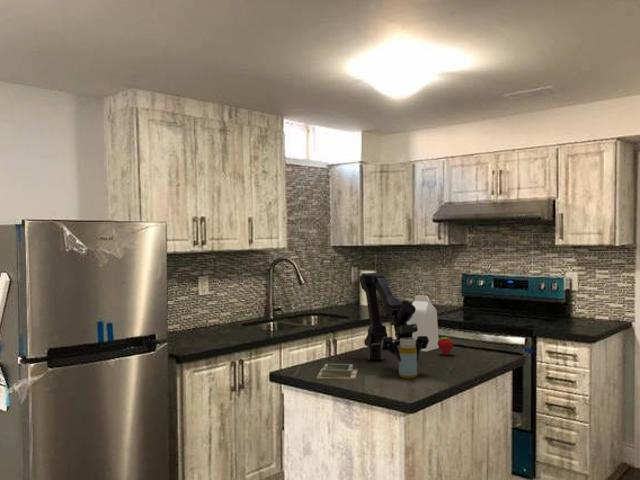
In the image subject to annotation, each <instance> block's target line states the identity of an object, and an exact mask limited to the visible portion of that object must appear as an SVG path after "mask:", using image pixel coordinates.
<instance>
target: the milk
mask: <svg viewBox="0 0 640 480" xmlns="http://www.w3.org/2000/svg"><path fill="white" fill-rule="evenodd" d="M431 302H432V301H430V299H429V295H422V294H421V295H419V294H417V295H416V296H415V297H414V301H412V303H411V304H412V305H413V306H415V309H416V311H415V313H414V314H413V316H412V317H411V319H410V320H409V321H407V325H411V324H417V329H418V330H417V332H414V333H412V338H415V339H416V340H417V337H418V336H427V337H428V339H429V342H428V345H427V347H426V348H425V349H421V350H420V351H419V352H426V353H427V352H429V351H433V350H437V349H439V347H438V344H437V343H438V341H439V340H440V339H439V326H438V313H437V312H438V311H437V309H436V308H435V306H434V305H433V304H432V303H431Z"/></svg>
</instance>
